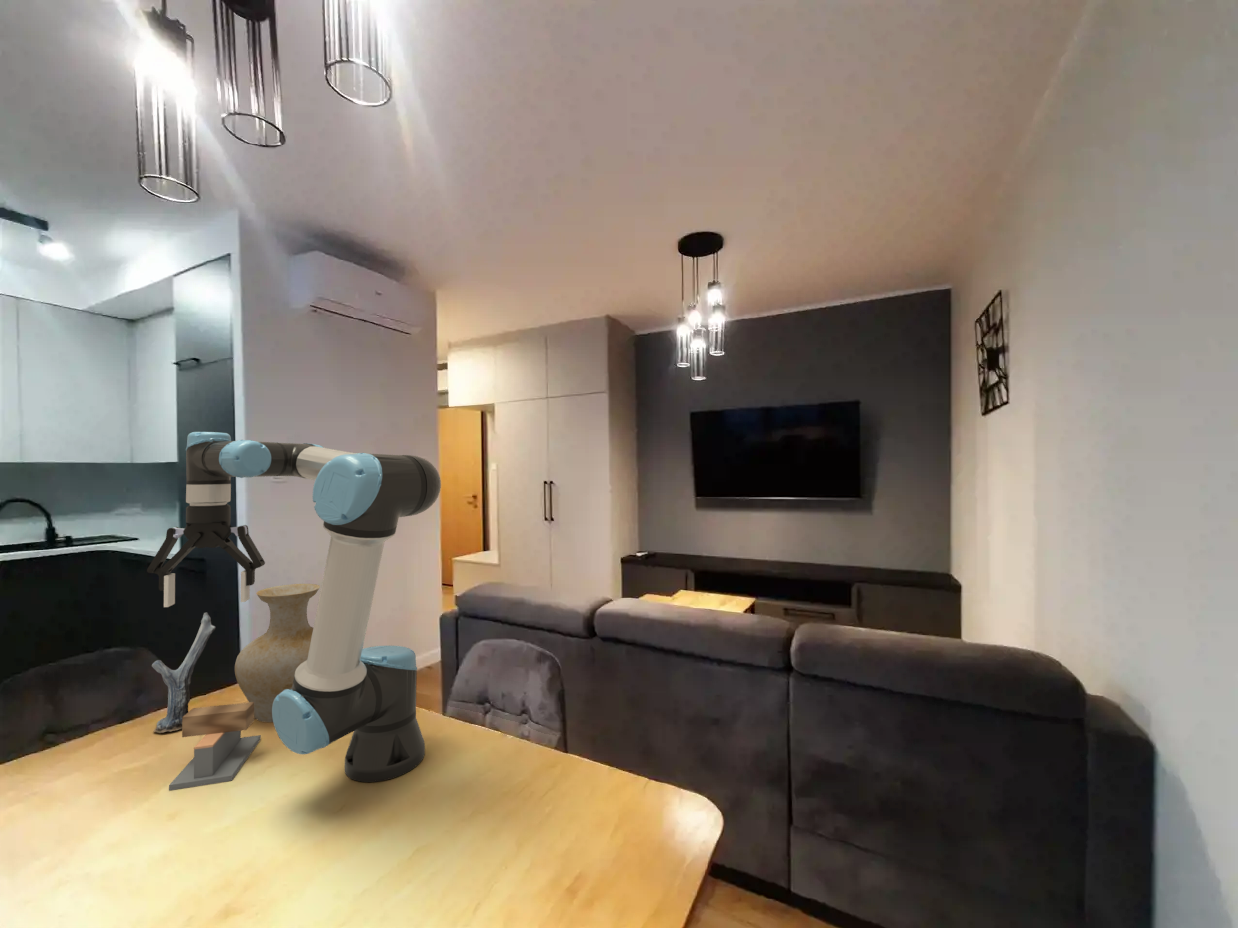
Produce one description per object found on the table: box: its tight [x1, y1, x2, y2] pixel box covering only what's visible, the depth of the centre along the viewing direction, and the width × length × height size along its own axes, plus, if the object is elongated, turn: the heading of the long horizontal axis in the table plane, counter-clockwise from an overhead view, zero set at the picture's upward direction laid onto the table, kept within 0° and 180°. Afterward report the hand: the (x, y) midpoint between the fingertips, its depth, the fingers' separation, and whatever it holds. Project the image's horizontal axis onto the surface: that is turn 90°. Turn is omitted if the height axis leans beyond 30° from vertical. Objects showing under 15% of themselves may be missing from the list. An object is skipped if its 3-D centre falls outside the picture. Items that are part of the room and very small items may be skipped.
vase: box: [234, 583, 321, 723], centre depth 130 cm, size 22×22×30 cm
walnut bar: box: [181, 701, 255, 738], centre depth 106 cm, size 11×4×4 cm, turn 106°
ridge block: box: [168, 730, 262, 791], centre depth 106 cm, size 10×16×7 cm, turn 18°
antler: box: [151, 612, 216, 734], centre depth 123 cm, size 12×8×25 cm
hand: (208, 603), depth 111 cm, fingers open, 13 cm apart
